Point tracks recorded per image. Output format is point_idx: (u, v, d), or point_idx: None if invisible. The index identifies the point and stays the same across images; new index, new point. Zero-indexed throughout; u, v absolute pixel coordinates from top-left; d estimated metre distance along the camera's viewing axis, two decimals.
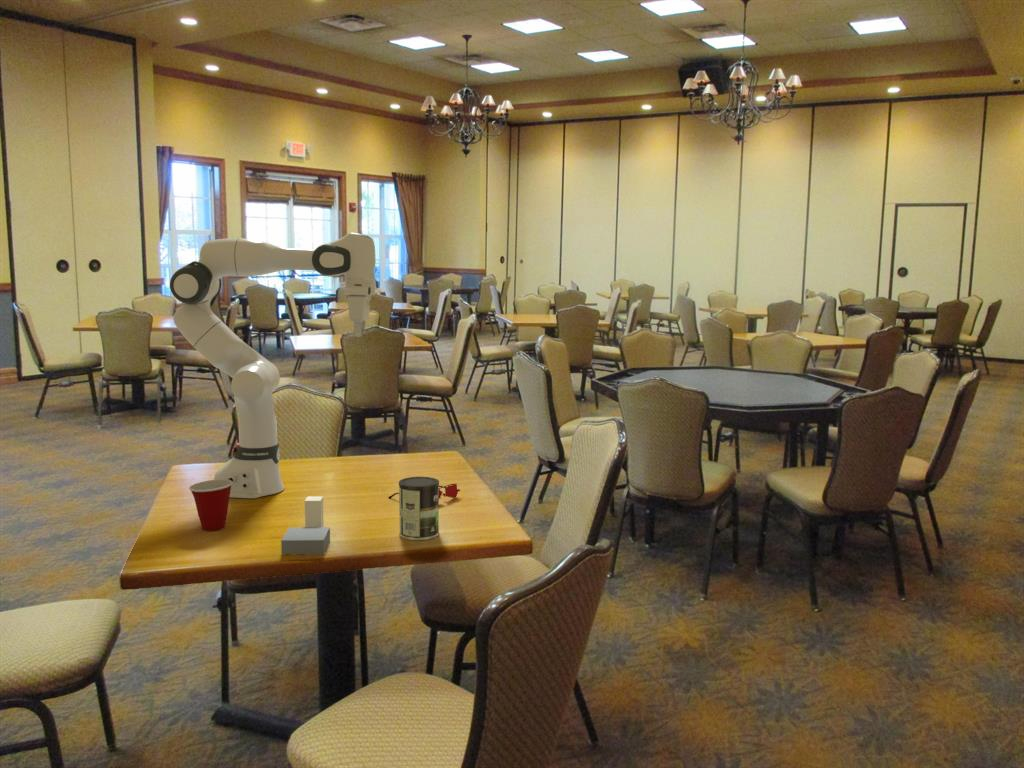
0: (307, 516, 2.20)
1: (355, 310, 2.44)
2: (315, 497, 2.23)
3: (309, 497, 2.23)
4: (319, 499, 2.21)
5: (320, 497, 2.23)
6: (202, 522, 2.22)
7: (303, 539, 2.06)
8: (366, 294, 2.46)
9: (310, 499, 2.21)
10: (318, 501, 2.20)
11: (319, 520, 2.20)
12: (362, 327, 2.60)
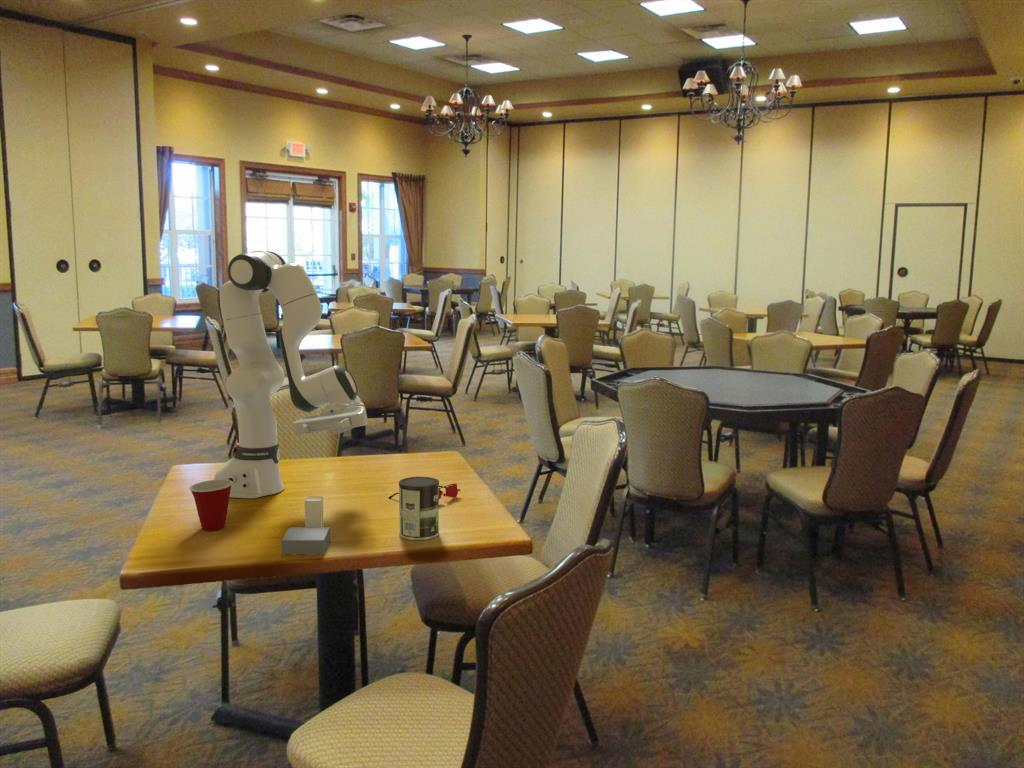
0: (307, 516, 2.20)
1: (365, 416, 2.38)
2: (315, 497, 2.23)
3: (309, 497, 2.23)
4: (319, 499, 2.21)
5: (320, 497, 2.23)
6: (202, 522, 2.22)
7: (303, 539, 2.06)
8: (365, 423, 2.43)
9: (310, 499, 2.21)
10: (318, 501, 2.20)
11: (319, 520, 2.20)
12: None
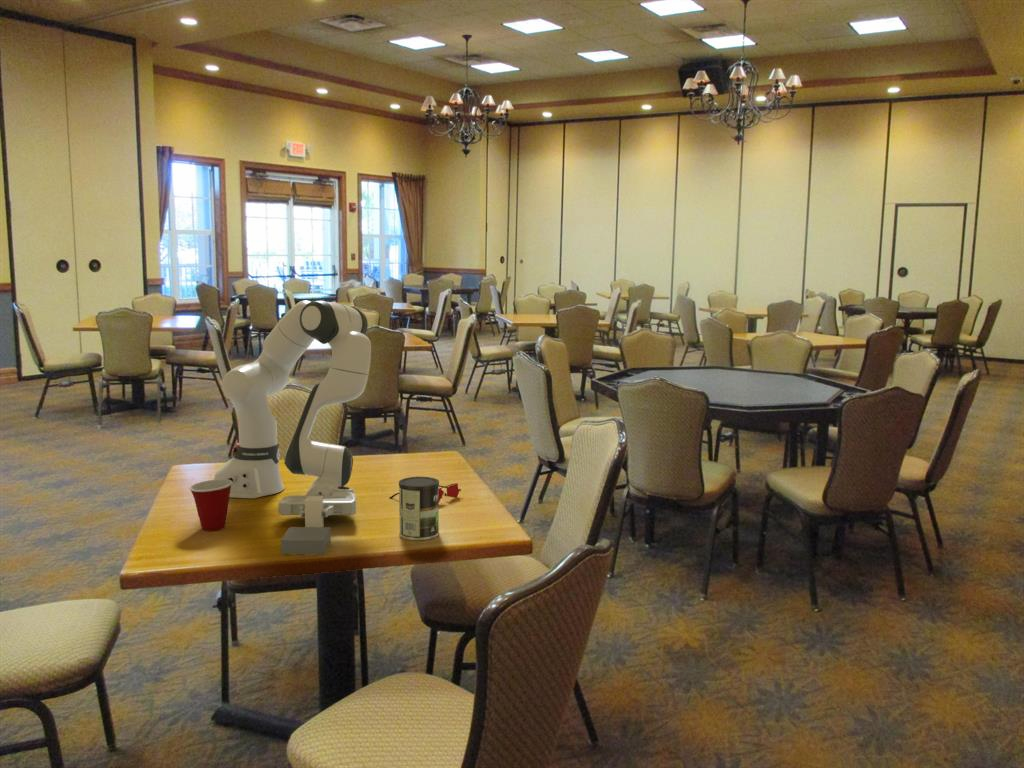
0: (307, 516, 2.20)
1: None
2: (315, 497, 2.23)
3: (309, 497, 2.22)
4: (319, 499, 2.21)
5: (320, 497, 2.23)
6: (202, 522, 2.22)
7: (303, 539, 2.06)
8: None
9: (310, 499, 2.21)
10: (318, 501, 2.20)
11: (319, 520, 2.20)
12: None
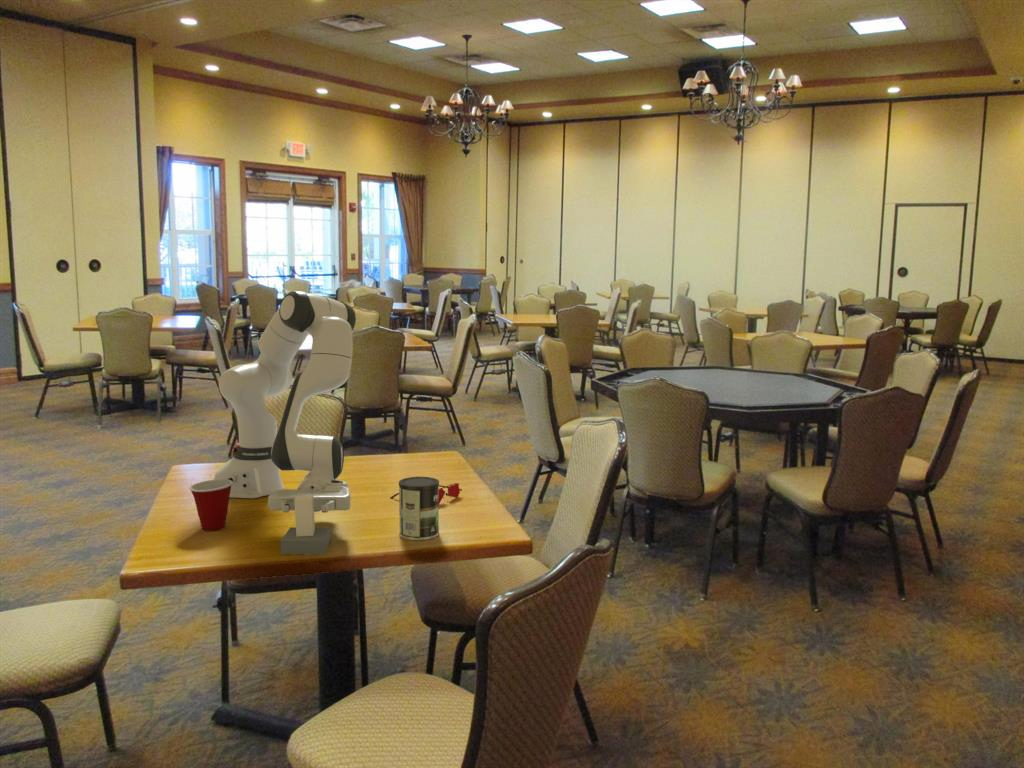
0: (298, 516, 2.08)
1: None
2: (305, 496, 2.10)
3: (299, 496, 2.10)
4: (309, 498, 2.09)
5: (310, 496, 2.10)
6: (202, 522, 2.22)
7: (302, 539, 2.06)
8: None
9: (300, 498, 2.08)
10: (309, 500, 2.08)
11: (310, 520, 2.08)
12: None
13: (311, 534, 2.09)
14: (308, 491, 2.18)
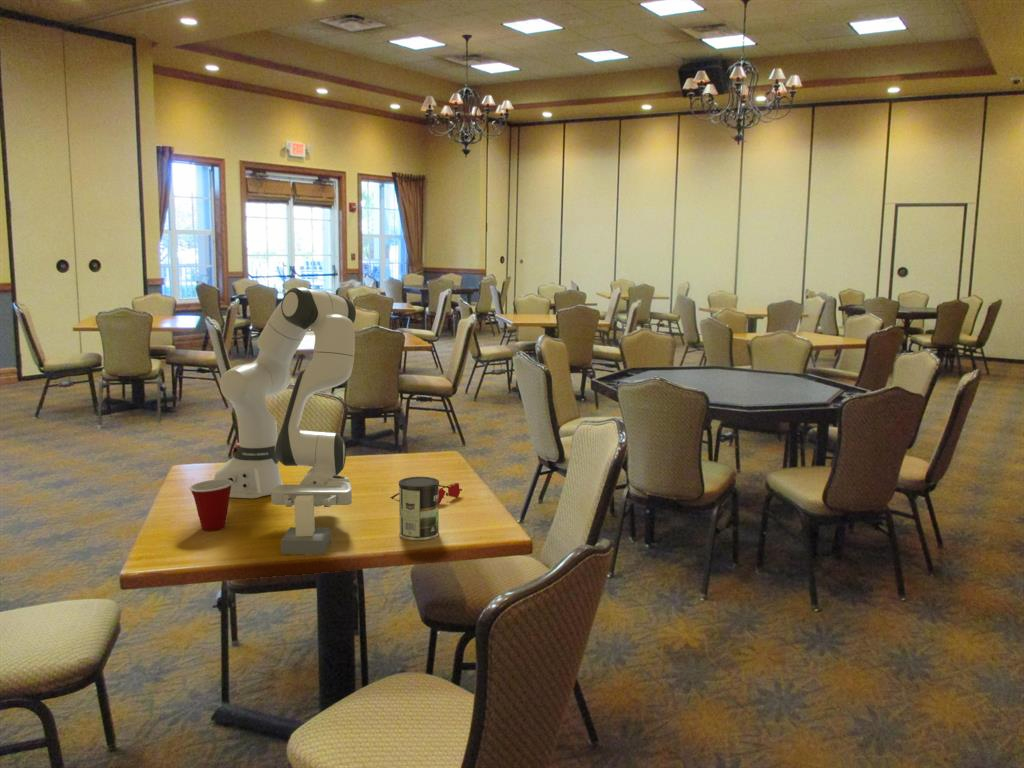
0: (298, 516, 2.08)
1: None
2: (305, 496, 2.10)
3: (299, 496, 2.10)
4: (309, 498, 2.08)
5: (310, 496, 2.10)
6: (202, 522, 2.22)
7: (302, 539, 2.06)
8: None
9: (300, 499, 2.08)
10: (308, 501, 2.07)
11: (310, 521, 2.08)
12: None
13: (311, 534, 2.09)
14: (310, 486, 2.23)
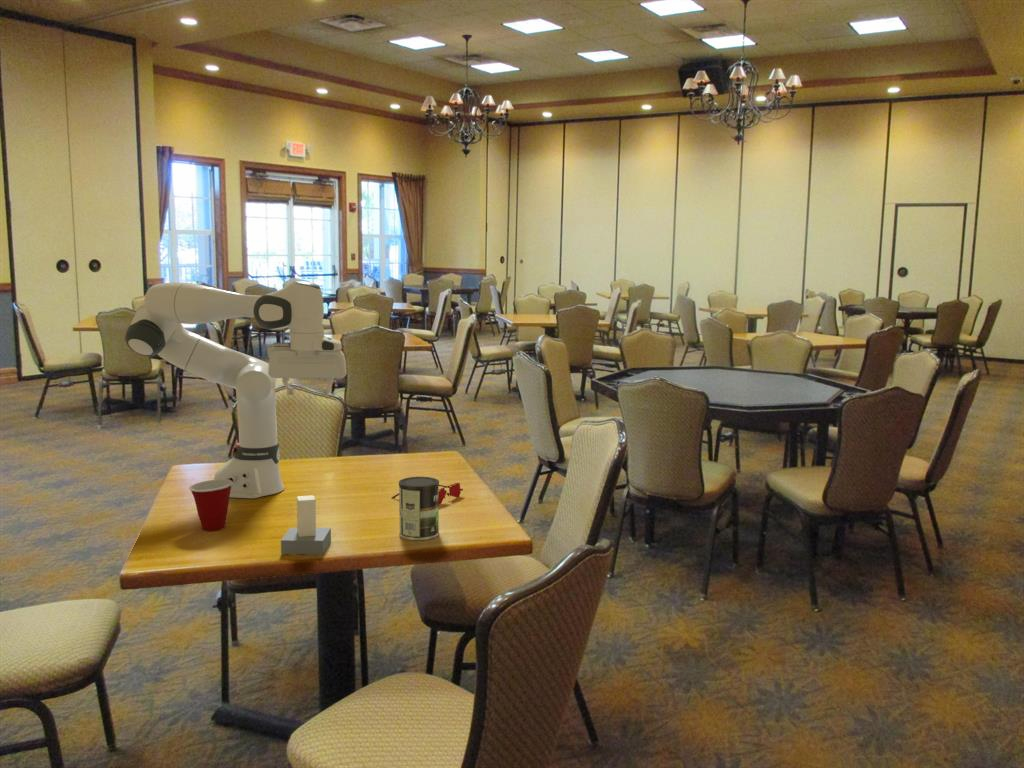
0: (301, 516, 2.08)
1: (345, 365, 2.29)
2: (306, 496, 2.10)
3: (300, 497, 2.10)
4: (313, 498, 2.09)
5: (312, 496, 2.11)
6: (202, 522, 2.22)
7: (303, 539, 2.06)
8: None
9: (303, 499, 2.08)
10: (313, 500, 2.08)
11: (314, 520, 2.09)
12: (289, 386, 2.29)
13: (314, 534, 2.09)
14: (303, 357, 2.26)
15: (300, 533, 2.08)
